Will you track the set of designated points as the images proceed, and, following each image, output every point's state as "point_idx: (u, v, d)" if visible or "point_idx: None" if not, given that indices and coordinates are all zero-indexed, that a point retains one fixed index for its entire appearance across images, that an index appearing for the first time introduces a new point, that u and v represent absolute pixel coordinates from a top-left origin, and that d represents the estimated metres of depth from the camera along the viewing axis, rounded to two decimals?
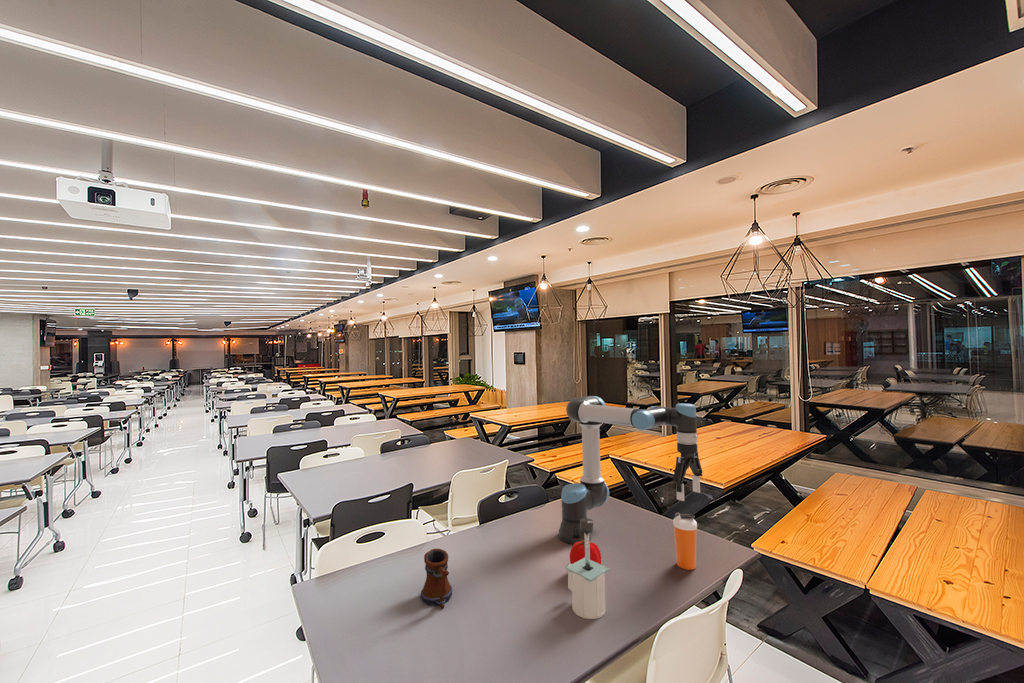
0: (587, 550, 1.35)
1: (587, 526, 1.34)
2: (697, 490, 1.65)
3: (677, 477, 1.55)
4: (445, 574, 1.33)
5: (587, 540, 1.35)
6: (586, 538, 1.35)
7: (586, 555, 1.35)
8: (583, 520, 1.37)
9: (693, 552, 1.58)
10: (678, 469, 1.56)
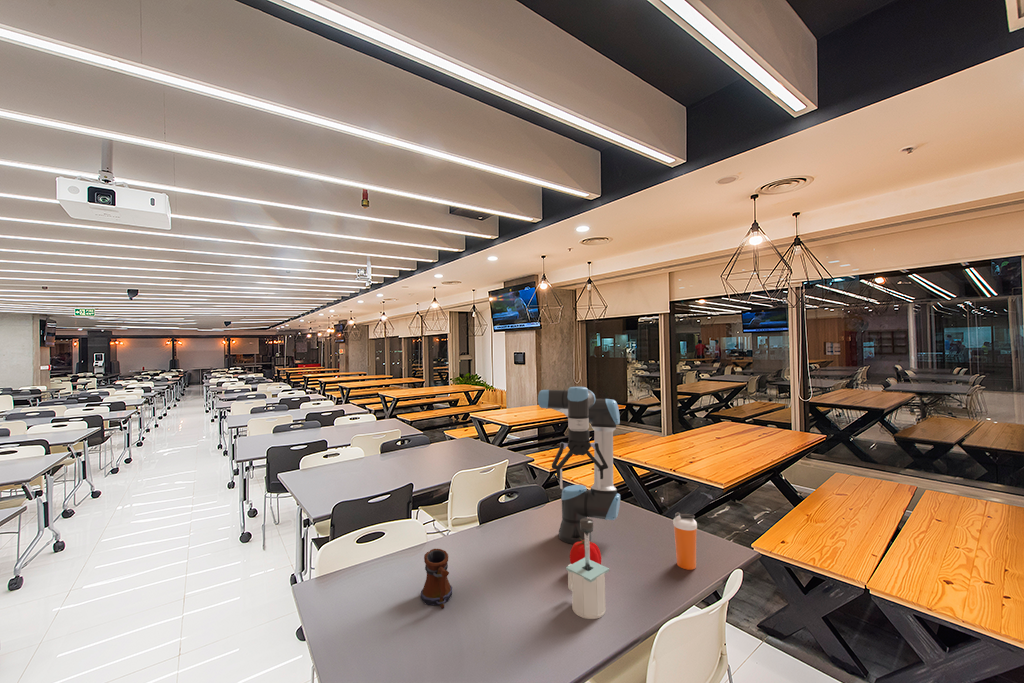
0: (587, 550, 1.35)
1: (587, 526, 1.34)
2: (598, 486, 1.46)
3: (553, 462, 1.47)
4: (445, 574, 1.33)
5: (587, 540, 1.35)
6: (586, 538, 1.35)
7: (586, 555, 1.35)
8: (583, 520, 1.37)
9: (693, 552, 1.58)
10: (557, 454, 1.47)
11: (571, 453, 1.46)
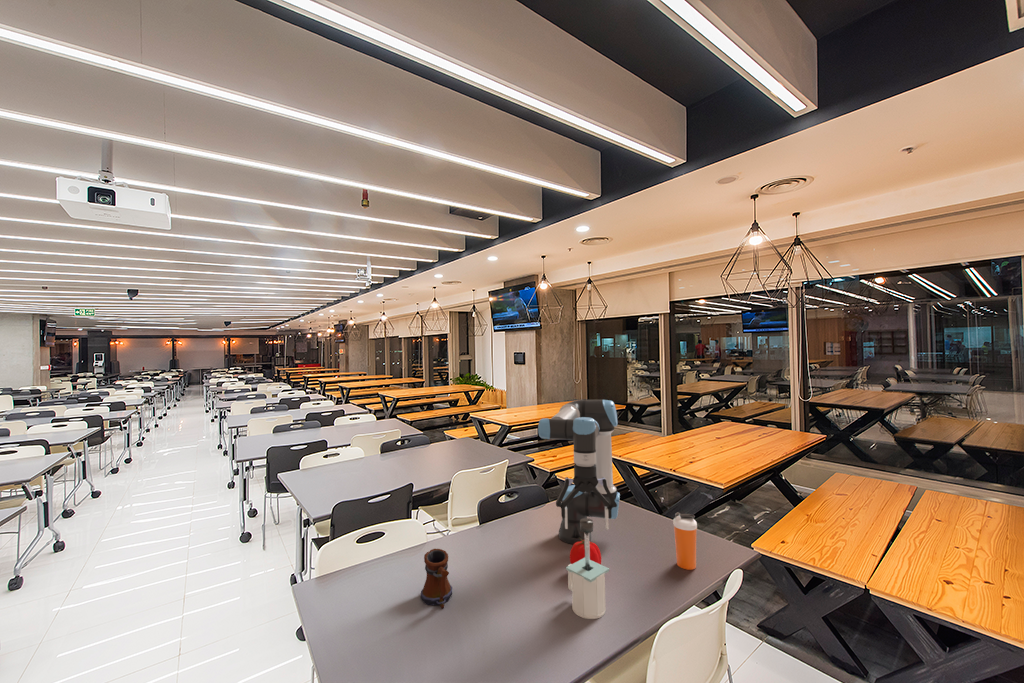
0: (587, 550, 1.35)
1: (587, 526, 1.34)
2: (605, 526, 1.35)
3: (557, 499, 1.36)
4: (445, 574, 1.33)
5: (587, 540, 1.35)
6: (586, 538, 1.35)
7: (586, 555, 1.35)
8: (583, 520, 1.37)
9: (693, 552, 1.58)
10: (561, 491, 1.37)
11: (577, 490, 1.35)
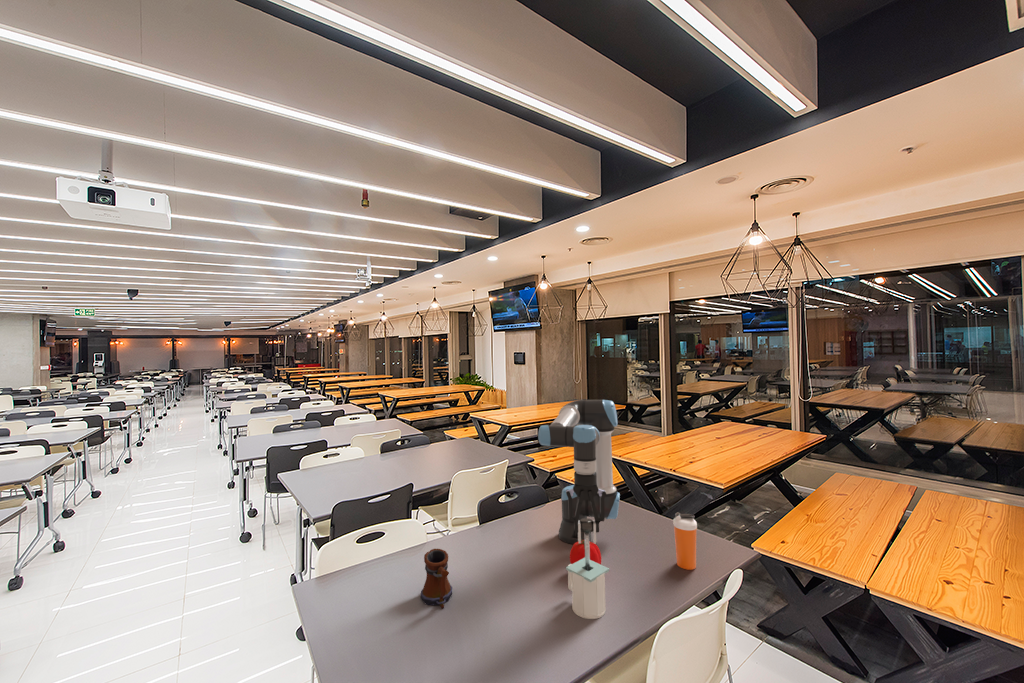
0: (587, 550, 1.35)
1: (587, 526, 1.34)
2: (593, 540, 1.35)
3: (568, 514, 1.36)
4: (445, 574, 1.33)
5: (587, 540, 1.35)
6: (586, 538, 1.35)
7: (586, 555, 1.35)
8: (583, 520, 1.37)
9: (693, 552, 1.58)
10: (568, 504, 1.37)
11: (580, 500, 1.35)
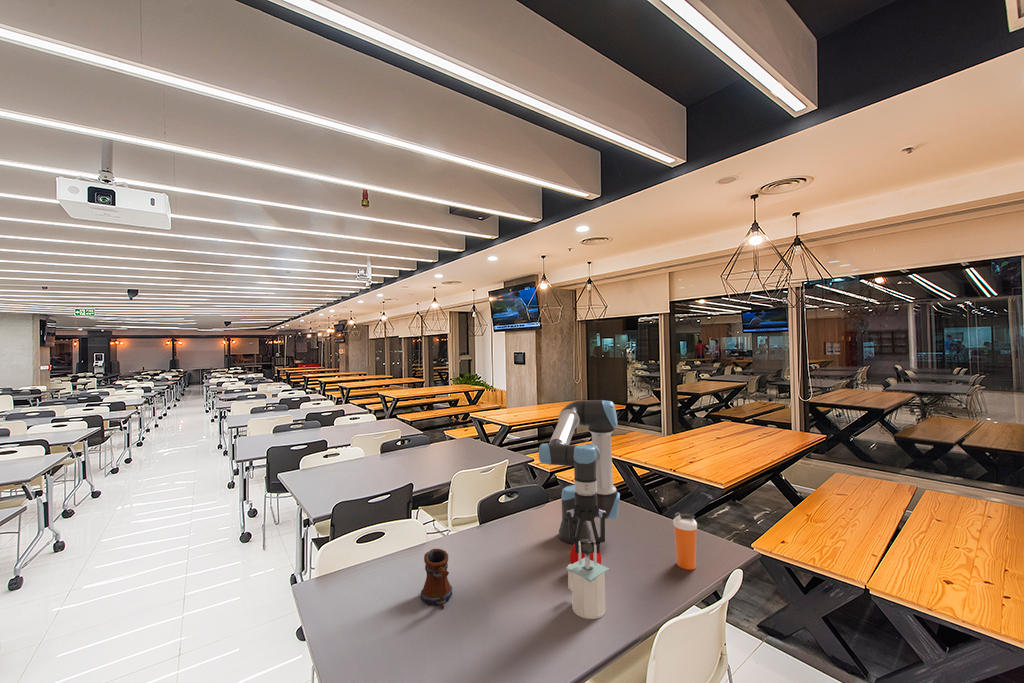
0: None
1: (587, 547, 1.34)
2: (594, 560, 1.35)
3: (569, 535, 1.36)
4: (445, 574, 1.33)
5: (588, 561, 1.35)
6: (587, 559, 1.35)
7: None
8: (584, 541, 1.36)
9: (693, 552, 1.58)
10: (569, 525, 1.36)
11: (581, 521, 1.35)
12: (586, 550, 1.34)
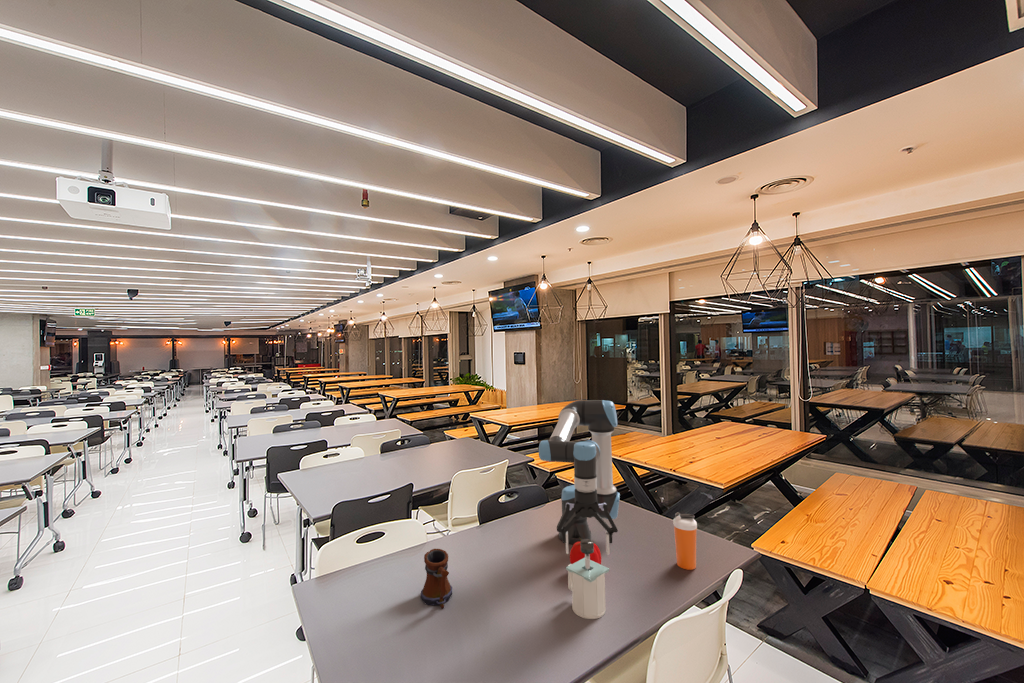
0: None
1: (587, 547, 1.34)
2: (606, 551, 1.35)
3: (558, 524, 1.36)
4: (445, 574, 1.33)
5: (588, 561, 1.35)
6: (587, 559, 1.35)
7: None
8: (584, 541, 1.36)
9: (693, 552, 1.58)
10: (562, 516, 1.37)
11: (578, 515, 1.35)
12: (586, 550, 1.34)
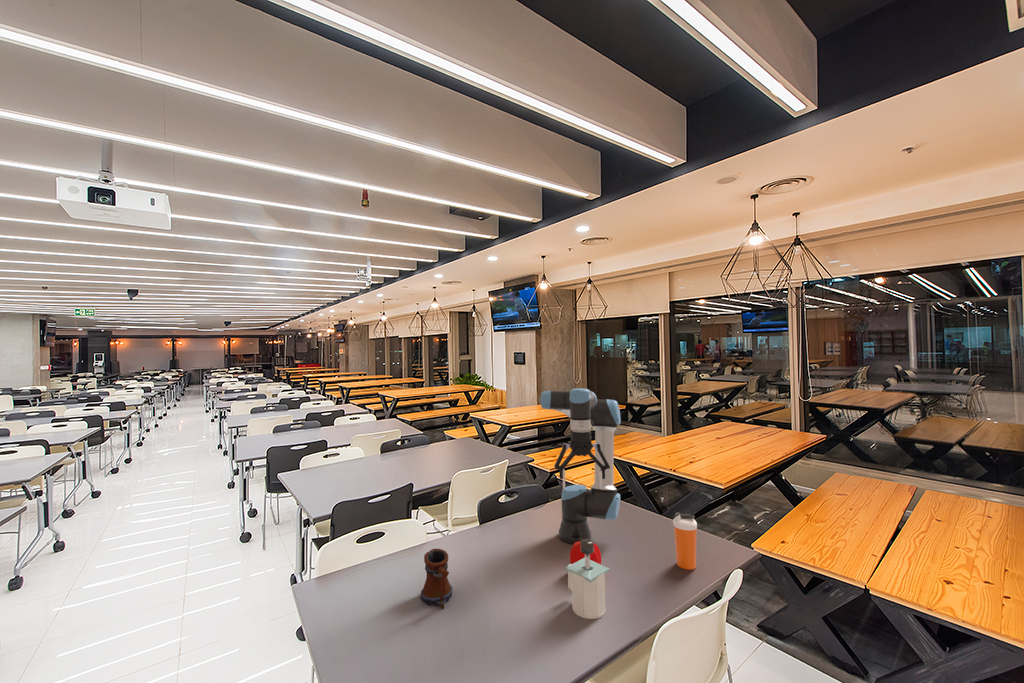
0: None
1: (587, 547, 1.34)
2: (600, 485, 1.49)
3: (556, 462, 1.50)
4: (445, 574, 1.33)
5: (588, 561, 1.35)
6: (587, 559, 1.35)
7: None
8: (584, 541, 1.36)
9: (693, 552, 1.58)
10: (559, 455, 1.50)
11: (573, 454, 1.48)
12: (586, 550, 1.34)
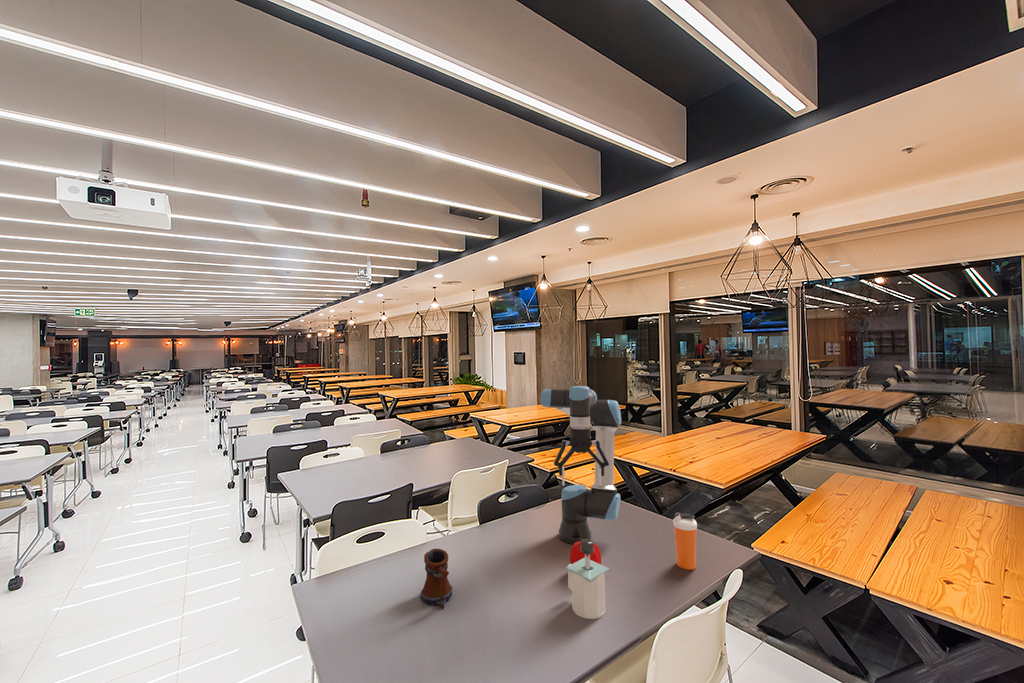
0: None
1: (587, 547, 1.34)
2: (599, 482, 1.50)
3: (555, 459, 1.51)
4: (445, 574, 1.33)
5: (588, 561, 1.35)
6: (587, 559, 1.35)
7: None
8: (584, 541, 1.36)
9: (693, 552, 1.58)
10: (559, 452, 1.51)
11: (573, 451, 1.50)
12: (586, 550, 1.34)
